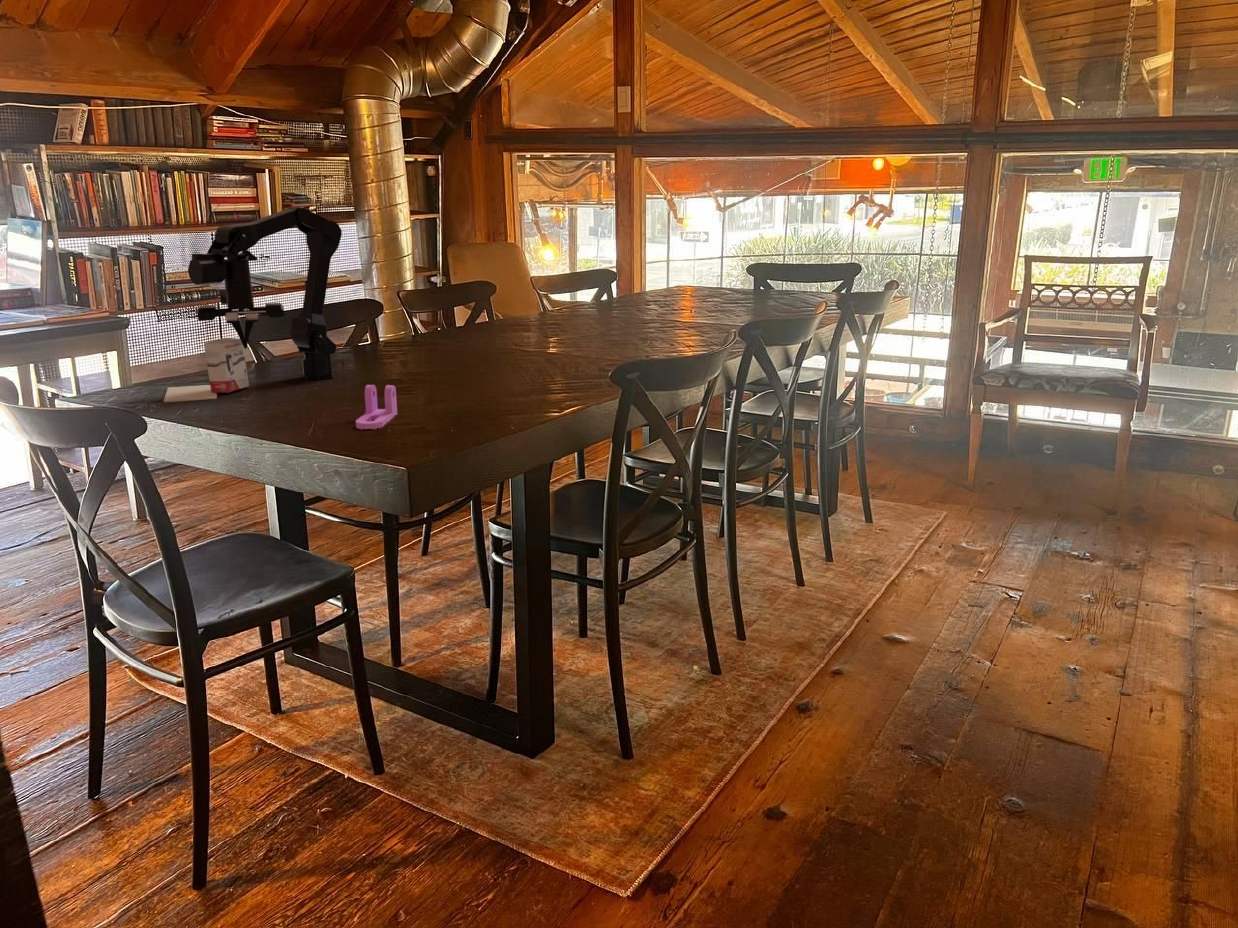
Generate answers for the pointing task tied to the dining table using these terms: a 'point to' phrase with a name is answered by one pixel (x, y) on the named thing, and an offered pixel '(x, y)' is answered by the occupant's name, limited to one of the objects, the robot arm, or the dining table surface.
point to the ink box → (226, 364)
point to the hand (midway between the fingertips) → (245, 348)
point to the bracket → (372, 409)
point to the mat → (189, 393)
